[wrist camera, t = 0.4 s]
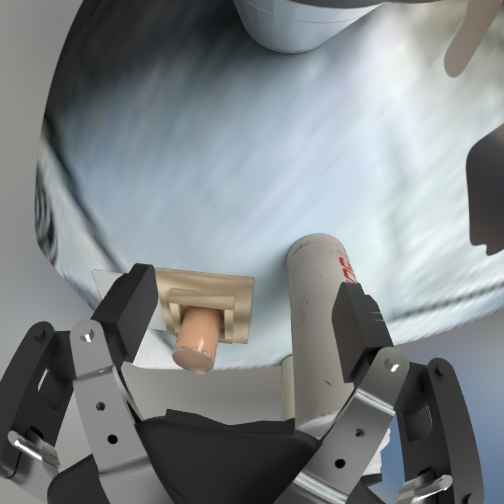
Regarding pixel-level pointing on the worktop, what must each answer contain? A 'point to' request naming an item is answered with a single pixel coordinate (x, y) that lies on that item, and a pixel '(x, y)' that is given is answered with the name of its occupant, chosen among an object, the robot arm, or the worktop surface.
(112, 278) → the mat
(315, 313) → the thermos bottle
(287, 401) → the travel mug
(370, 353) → the robot arm
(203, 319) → the tabbed peach cylinder
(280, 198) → the worktop surface
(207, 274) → the dock
